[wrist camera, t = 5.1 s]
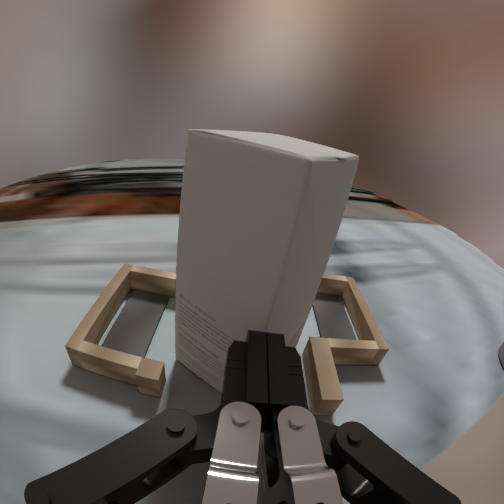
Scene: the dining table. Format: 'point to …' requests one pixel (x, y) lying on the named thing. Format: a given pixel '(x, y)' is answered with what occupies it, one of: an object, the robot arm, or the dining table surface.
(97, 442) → the dining table surface
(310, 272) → the skincare box
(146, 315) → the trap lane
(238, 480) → the robot arm
